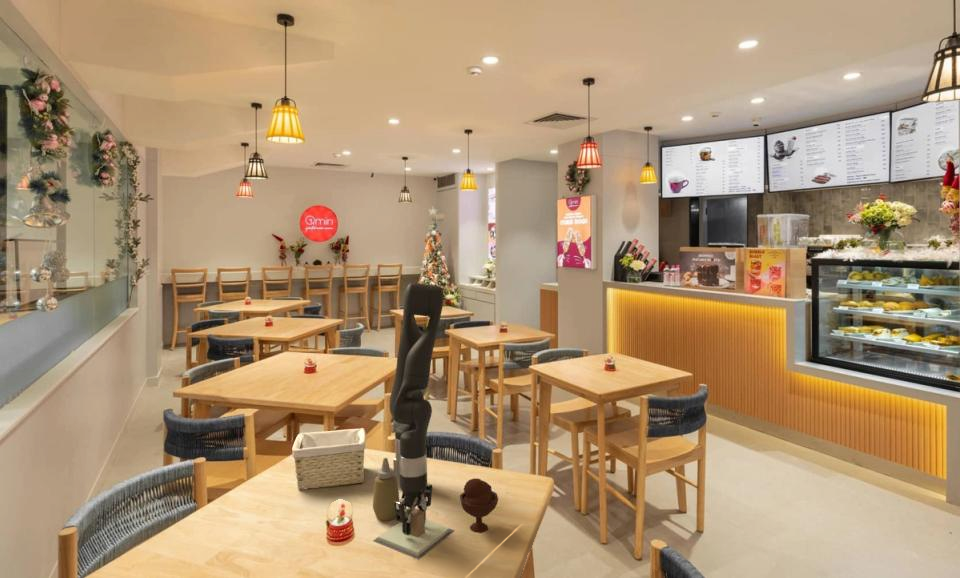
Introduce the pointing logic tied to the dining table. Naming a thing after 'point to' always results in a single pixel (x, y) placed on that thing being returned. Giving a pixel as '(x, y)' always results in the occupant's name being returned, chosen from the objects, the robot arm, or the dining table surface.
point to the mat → (410, 553)
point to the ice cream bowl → (478, 502)
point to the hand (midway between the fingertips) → (414, 528)
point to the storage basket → (329, 458)
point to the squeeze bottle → (385, 493)
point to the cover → (415, 534)
